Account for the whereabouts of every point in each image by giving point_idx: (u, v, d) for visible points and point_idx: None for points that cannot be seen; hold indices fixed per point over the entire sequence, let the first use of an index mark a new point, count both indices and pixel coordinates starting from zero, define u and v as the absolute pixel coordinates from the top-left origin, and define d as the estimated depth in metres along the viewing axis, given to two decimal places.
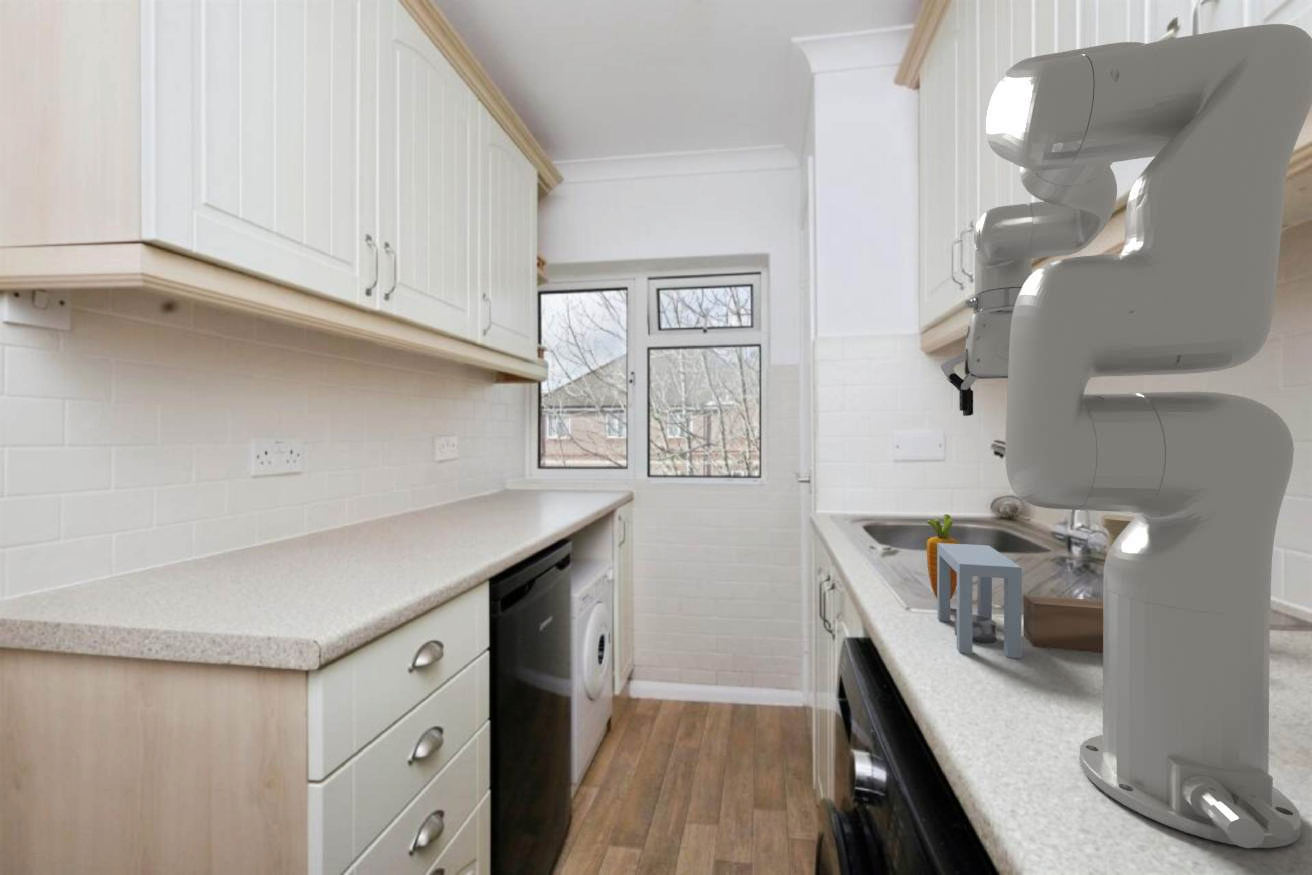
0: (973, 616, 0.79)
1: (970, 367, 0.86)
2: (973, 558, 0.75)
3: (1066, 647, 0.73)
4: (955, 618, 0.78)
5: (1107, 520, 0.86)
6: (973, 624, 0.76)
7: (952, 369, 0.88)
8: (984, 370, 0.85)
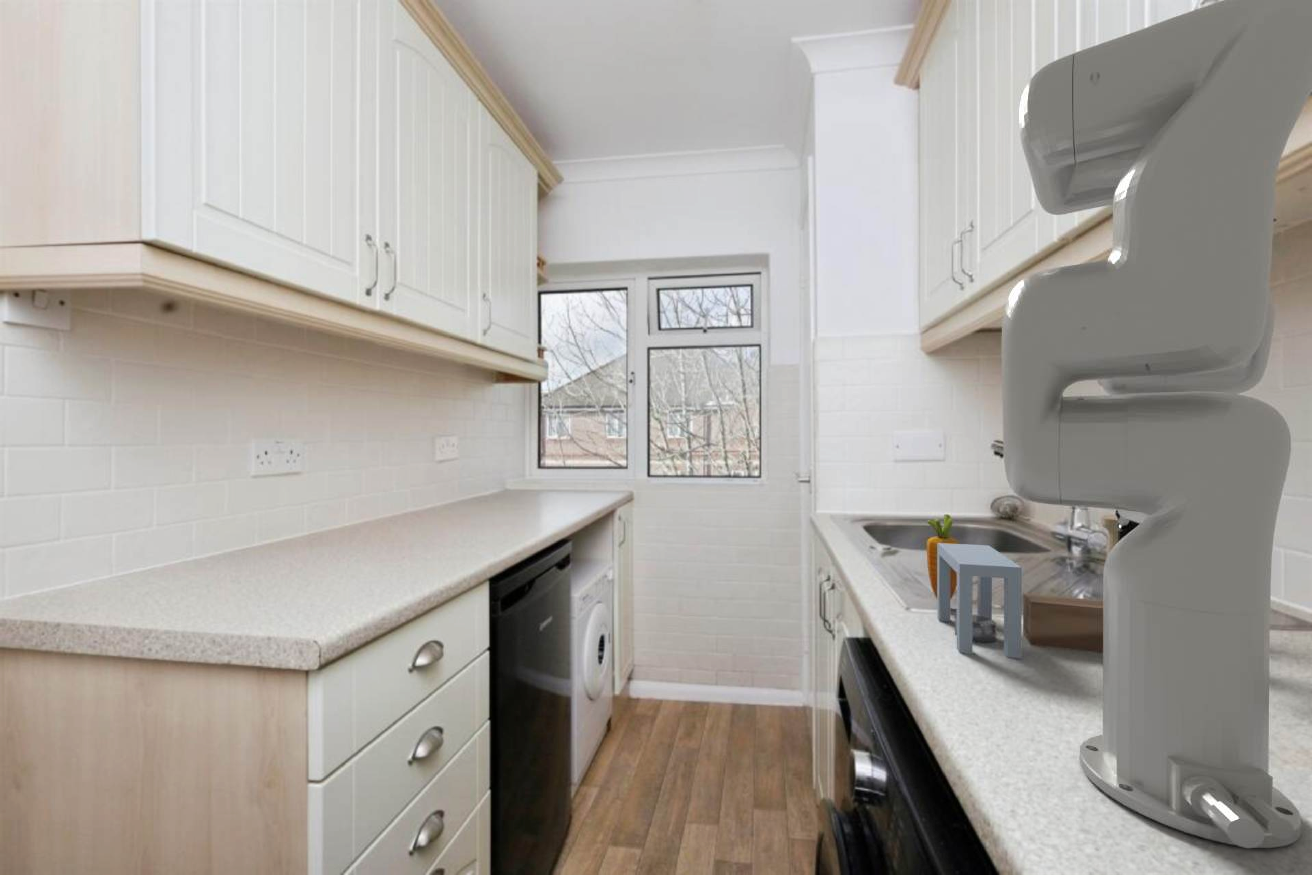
0: (973, 616, 0.79)
1: None
2: (973, 558, 0.75)
3: (1063, 646, 0.73)
4: (955, 618, 0.78)
5: (1107, 520, 0.86)
6: (973, 624, 0.76)
7: None
8: None
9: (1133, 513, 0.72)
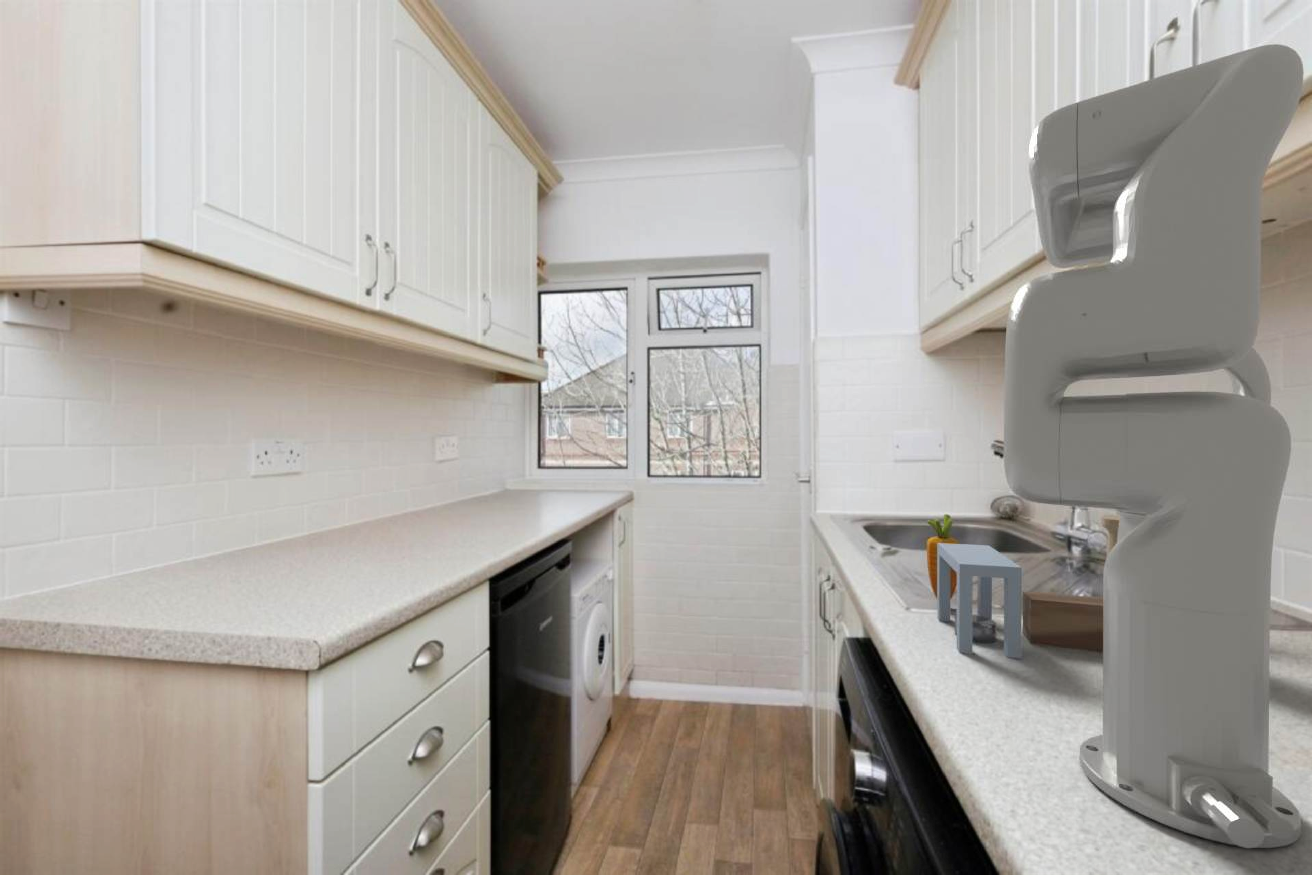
0: (973, 616, 0.79)
1: None
2: (973, 558, 0.75)
3: (1063, 643, 0.73)
4: (955, 618, 0.78)
5: (1107, 520, 0.86)
6: (973, 624, 0.76)
7: None
8: None
9: None
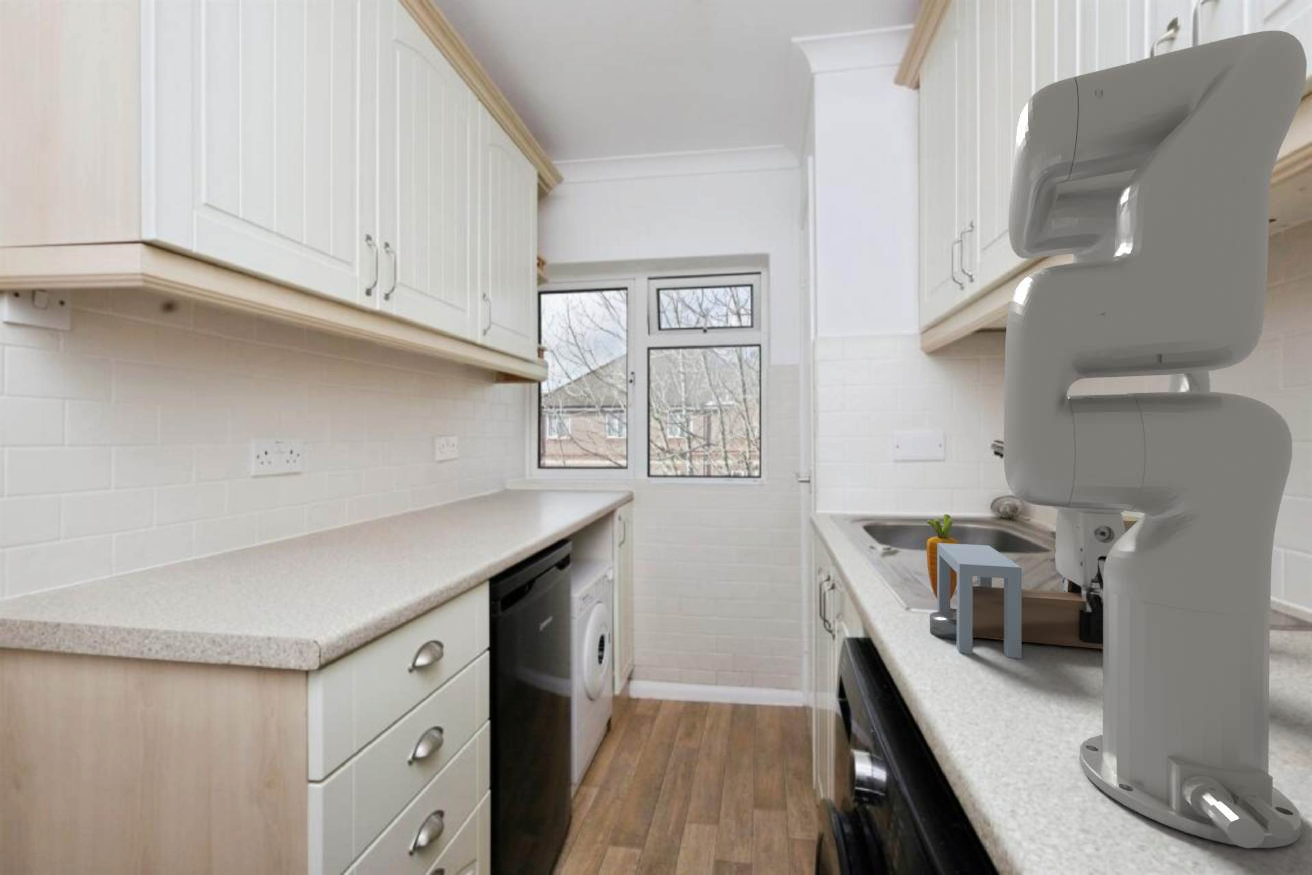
0: (949, 614, 0.80)
1: None
2: (973, 558, 0.75)
3: (1003, 635, 0.75)
4: (930, 615, 0.79)
5: None
6: (946, 621, 0.77)
7: None
8: None
9: (1067, 571, 0.74)
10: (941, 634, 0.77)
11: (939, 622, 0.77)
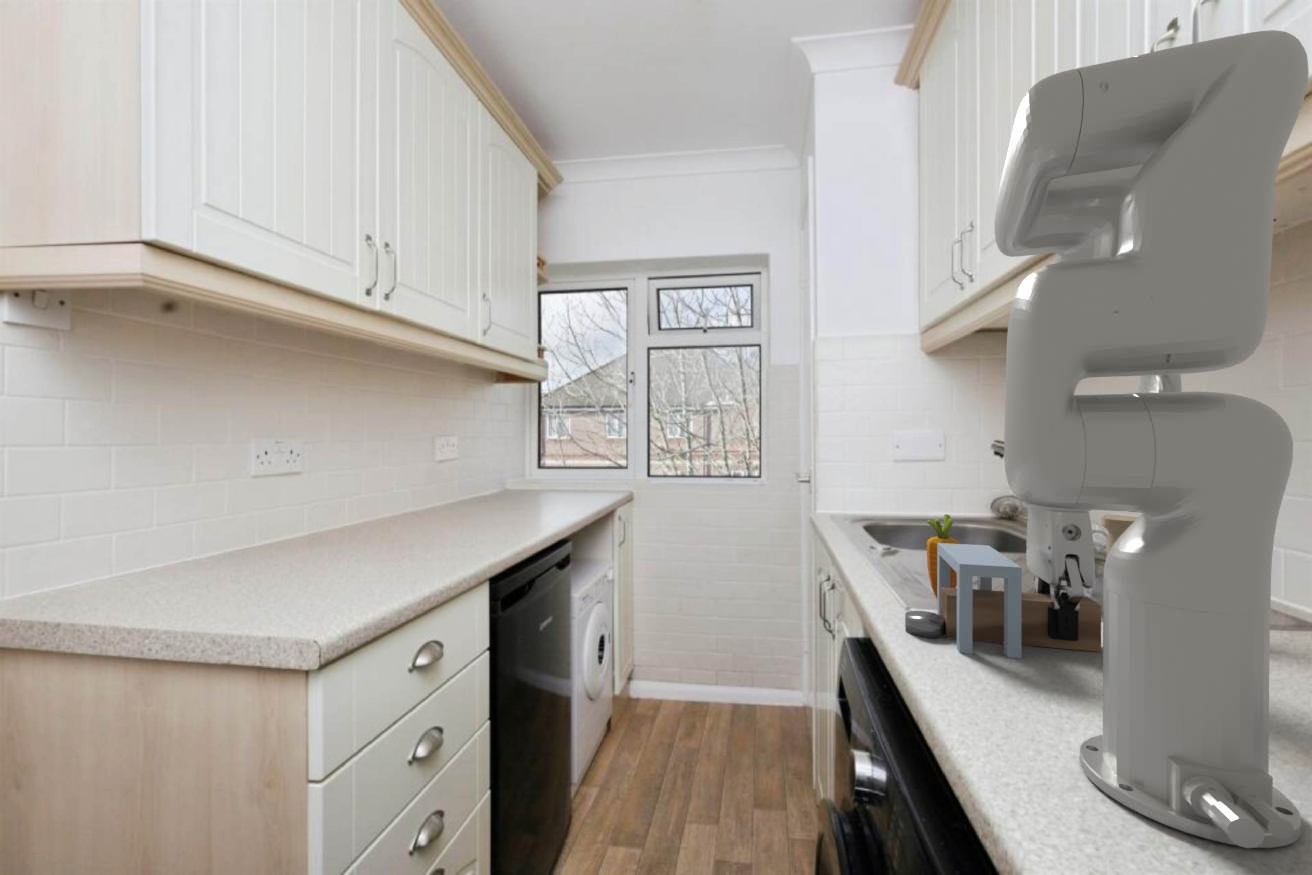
0: (924, 612, 0.81)
1: (1091, 580, 0.69)
2: (973, 558, 0.75)
3: (976, 637, 0.76)
4: (905, 614, 0.80)
5: (1107, 520, 0.86)
6: (921, 620, 0.77)
7: None
8: None
9: (1037, 569, 0.75)
10: (915, 632, 0.78)
11: (913, 620, 0.78)
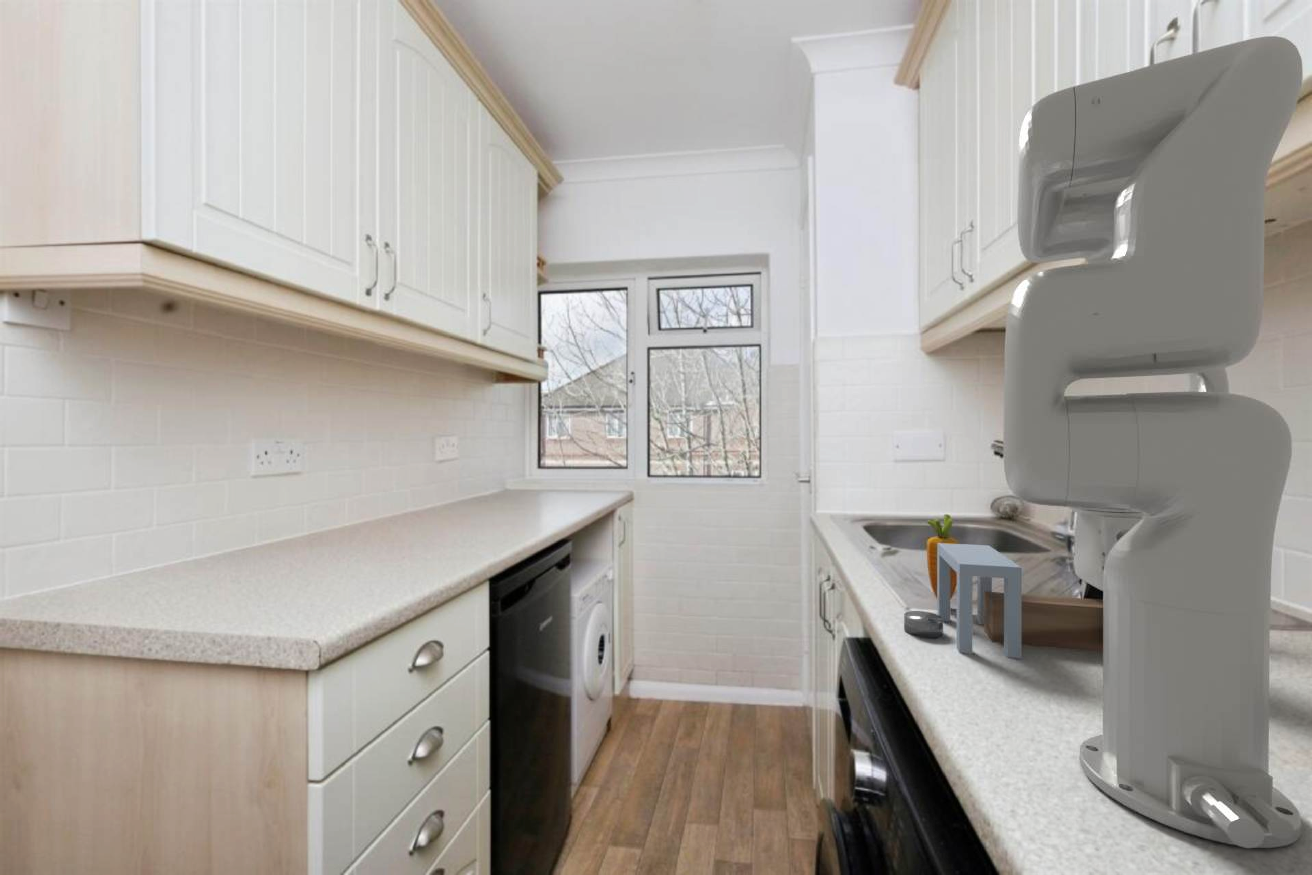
0: (923, 612, 0.81)
1: None
2: (973, 558, 0.75)
3: (1023, 642, 0.74)
4: (904, 614, 0.80)
5: None
6: (919, 620, 0.78)
7: None
8: None
9: (1087, 575, 0.74)
10: (914, 633, 0.78)
11: (912, 621, 0.78)
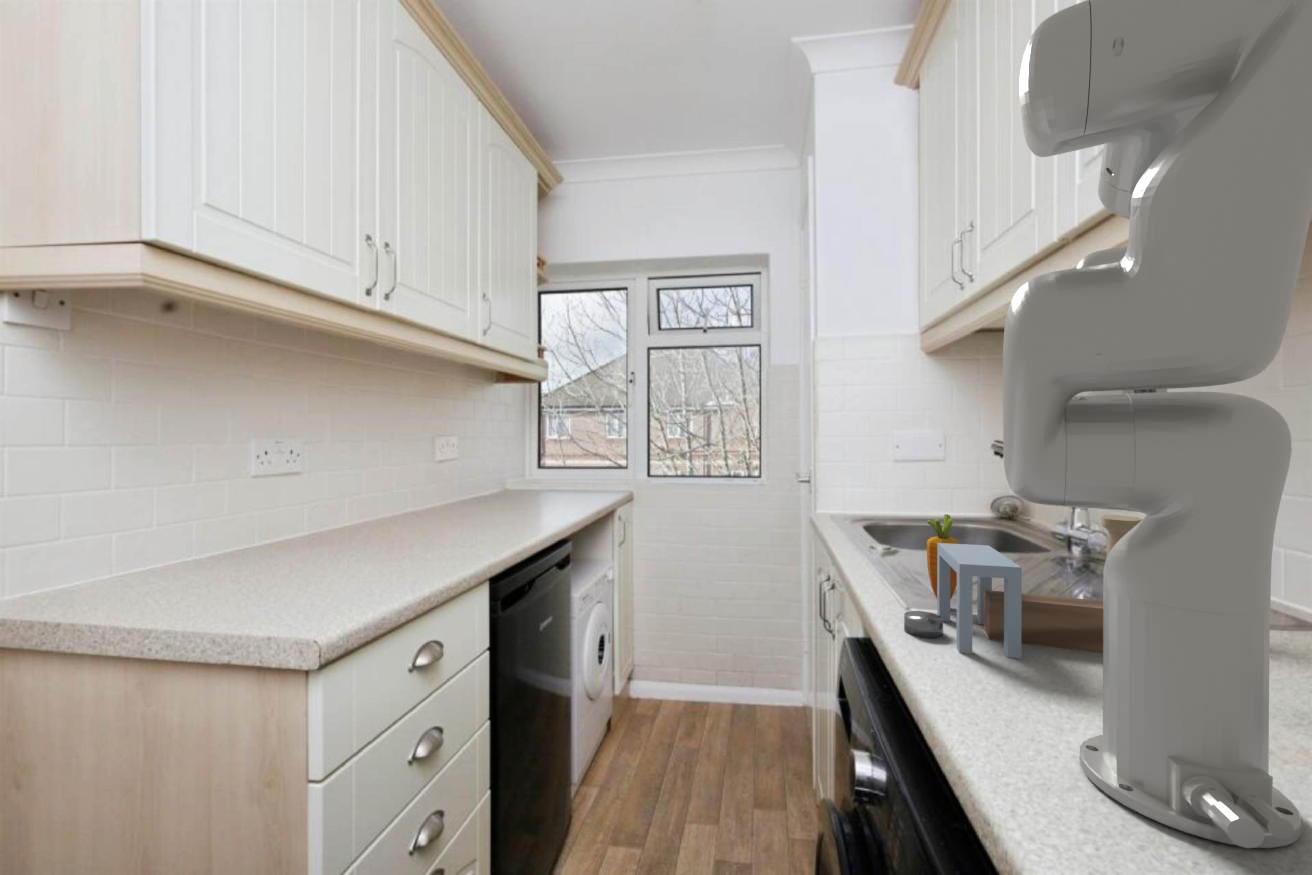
0: (923, 612, 0.81)
1: None
2: (973, 558, 0.75)
3: None
4: (904, 614, 0.80)
5: (1107, 520, 0.86)
6: (919, 620, 0.78)
7: None
8: None
9: None
10: (914, 633, 0.78)
11: (912, 621, 0.78)
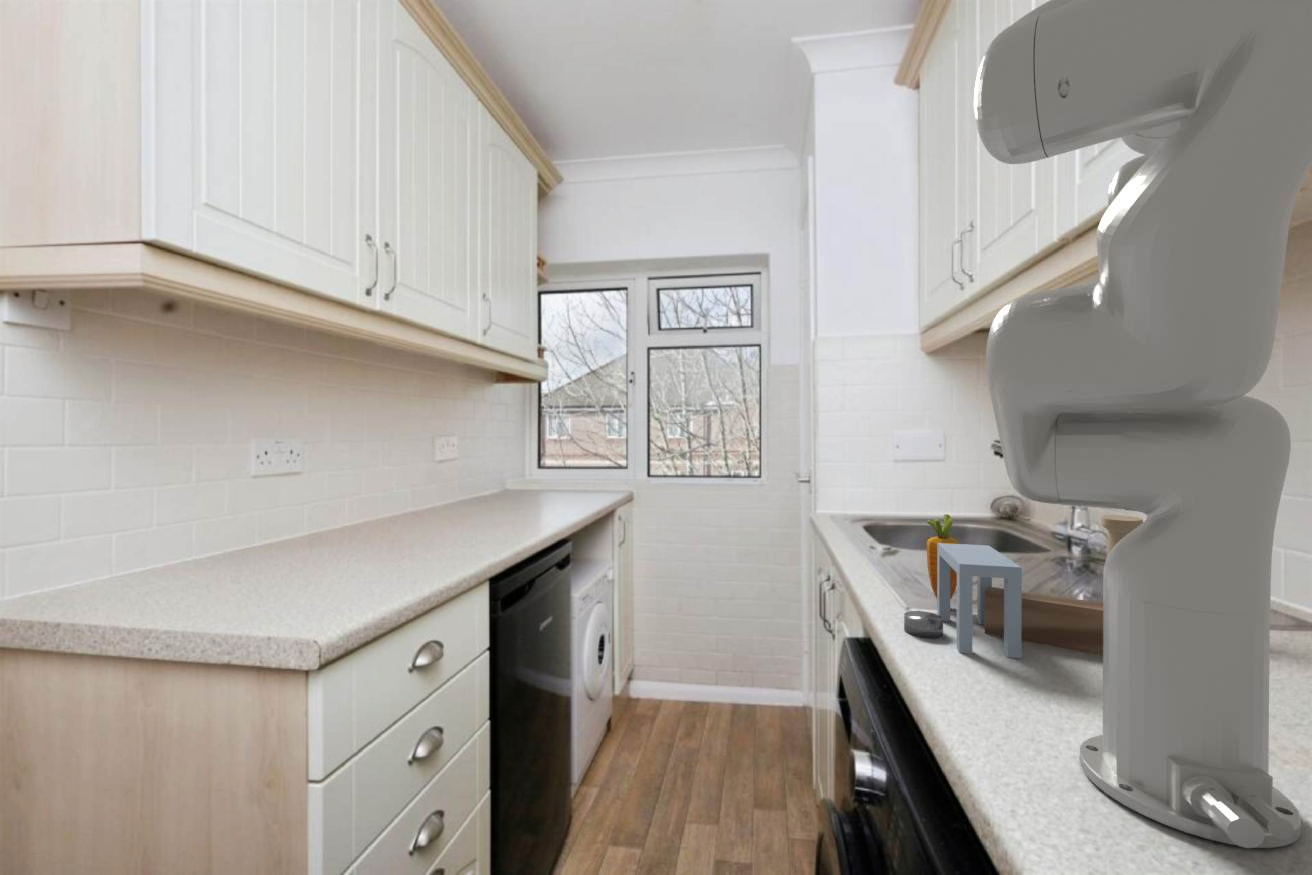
0: (923, 612, 0.81)
1: None
2: (973, 558, 0.75)
3: None
4: (904, 614, 0.80)
5: (1107, 520, 0.86)
6: (919, 620, 0.78)
7: None
8: None
9: None
10: (914, 633, 0.78)
11: (912, 621, 0.78)
